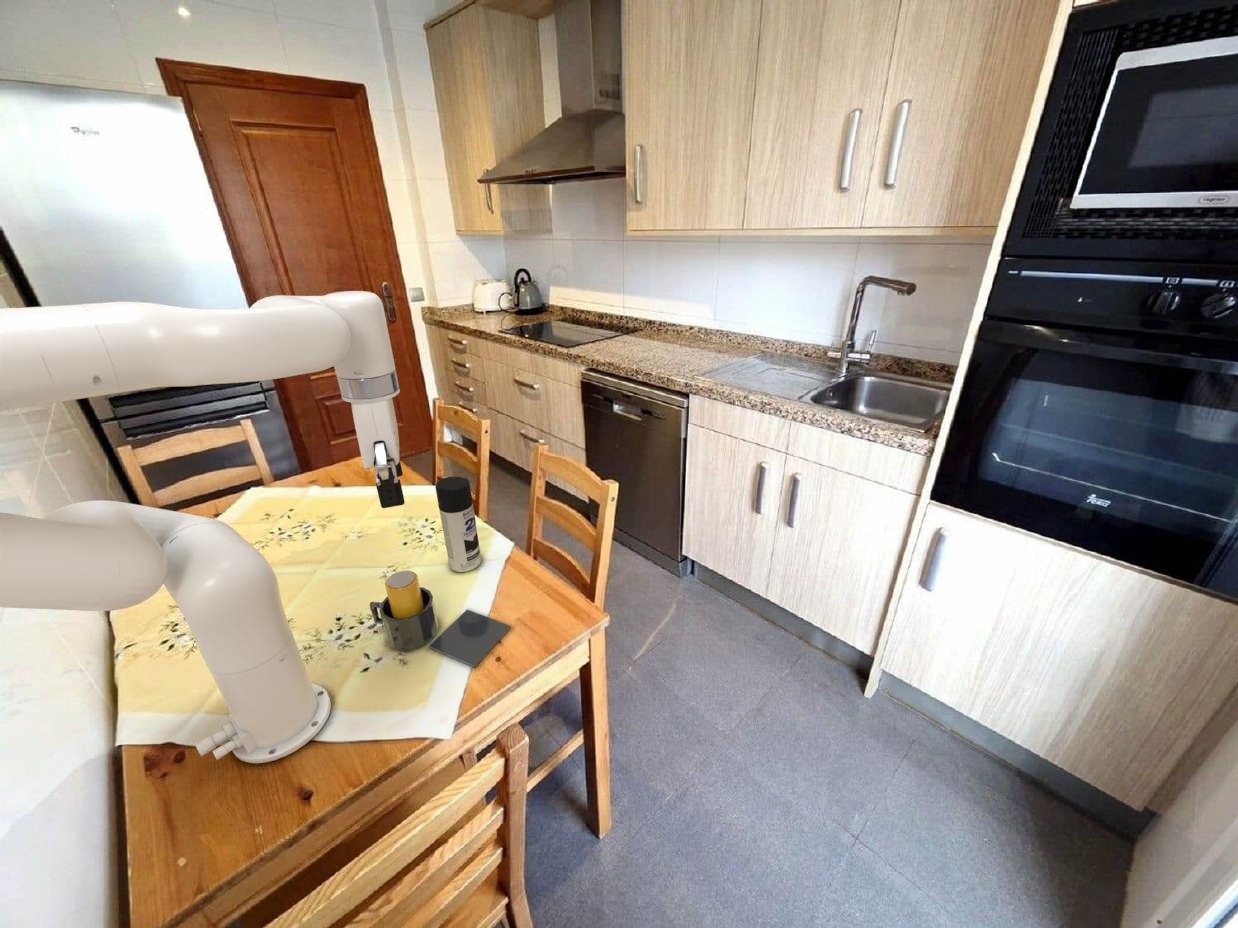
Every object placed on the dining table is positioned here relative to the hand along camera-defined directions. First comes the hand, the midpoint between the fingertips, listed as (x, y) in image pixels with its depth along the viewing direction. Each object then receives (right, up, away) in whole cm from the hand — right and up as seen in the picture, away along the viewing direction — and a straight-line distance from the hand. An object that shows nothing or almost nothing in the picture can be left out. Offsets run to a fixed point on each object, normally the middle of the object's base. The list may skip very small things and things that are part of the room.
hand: (392, 490), depth 78 cm
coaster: (+9, -27, +12) cm, 31 cm away
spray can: (+2, -18, +31) cm, 36 cm away
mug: (-3, -26, +13) cm, 30 cm away
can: (-2, -26, +12) cm, 29 cm away
